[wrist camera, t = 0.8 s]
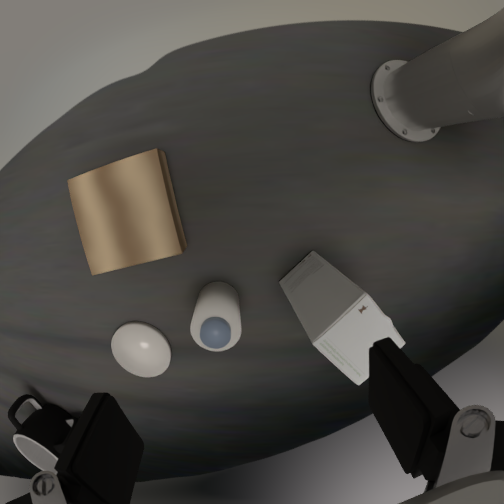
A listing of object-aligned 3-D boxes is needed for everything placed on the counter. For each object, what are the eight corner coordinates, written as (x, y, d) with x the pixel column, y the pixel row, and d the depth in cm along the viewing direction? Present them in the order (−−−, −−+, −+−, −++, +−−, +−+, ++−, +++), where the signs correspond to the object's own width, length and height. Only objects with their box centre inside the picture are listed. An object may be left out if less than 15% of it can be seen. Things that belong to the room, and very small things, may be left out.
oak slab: (164, 151, 33) (156, 148, 29) (187, 245, 36) (182, 253, 32) (82, 179, 33) (67, 180, 29) (104, 266, 36) (92, 275, 32)
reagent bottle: (233, 277, 37) (234, 307, 28) (243, 314, 39) (246, 351, 30) (193, 286, 37) (182, 317, 28) (204, 322, 38) (197, 361, 30)
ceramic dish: (159, 316, 38) (157, 320, 37) (179, 368, 40) (178, 373, 39) (105, 326, 38) (102, 329, 36) (127, 375, 40) (125, 379, 39)
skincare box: (277, 280, 38) (305, 343, 23) (315, 246, 37) (367, 288, 22) (316, 320, 40) (356, 390, 24) (351, 289, 39) (409, 344, 24)
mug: (91, 454, 45) (77, 492, 33) (31, 420, 42) (10, 453, 31) (98, 415, 42) (77, 460, 30) (28, 375, 39) (-1, 411, 28)
